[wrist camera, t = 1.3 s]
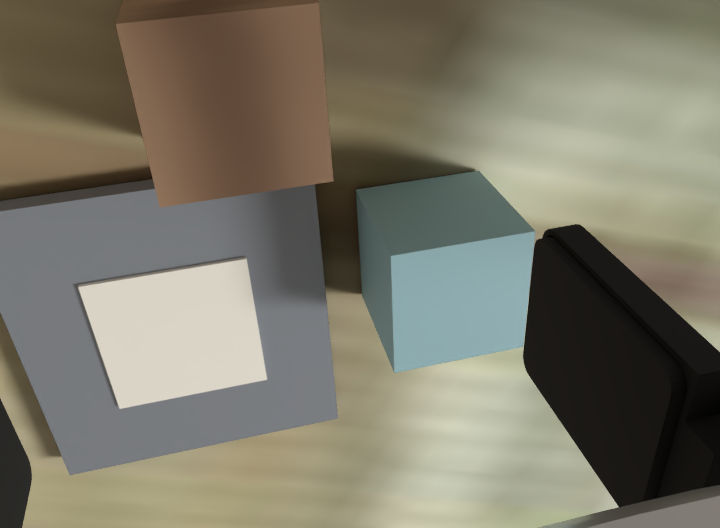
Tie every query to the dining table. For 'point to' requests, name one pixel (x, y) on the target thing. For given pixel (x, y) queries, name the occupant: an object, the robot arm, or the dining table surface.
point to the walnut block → (228, 95)
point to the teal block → (443, 268)
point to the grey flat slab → (166, 318)
